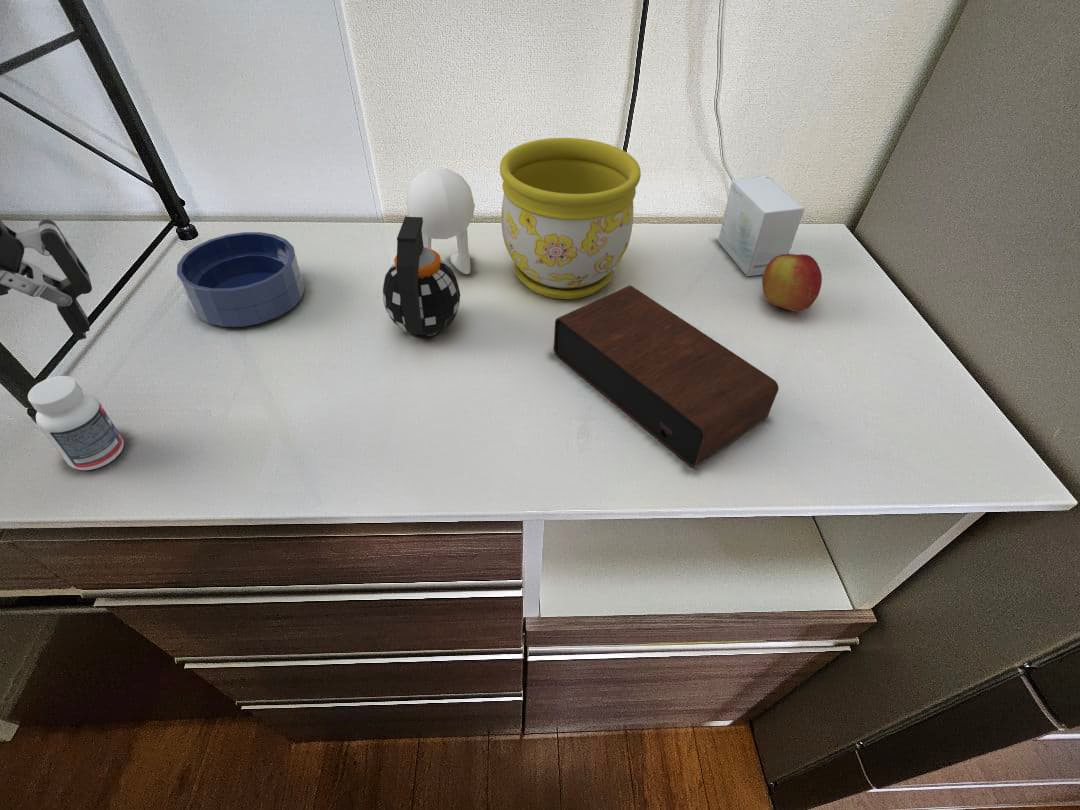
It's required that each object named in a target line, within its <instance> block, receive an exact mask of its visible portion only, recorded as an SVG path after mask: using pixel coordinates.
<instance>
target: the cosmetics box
mask: <svg viewBox="0 0 1080 810" xmlns="http://www.w3.org/2000/svg"><path fill="white" fill-rule="evenodd" d="M804 212H805V207H804V206H803V205H802V204H801V203H800V202H798V201H797V200H796V198H794V197H793V196H792V195H791V194H790V193H789V192H788V191H786V189H784V188H783V186H781V185H780V184H779V183H778V182H777V181H775V179H773V178H772V176H771V175H769V174H768V175H759V176H752V177H742V178H734V179H732V180H731V183H730V188H729V191H728V197H727V201H726V205H725V209H724V213H723V217H722V221H721V226H720V230H719V234H718V238H717V242H718V243H719V245H720V246H721V247H722V248H723V249H724V251H725V252H726V253H727V254H728V255H729V257H730V258H731V259H732V261H734V262H735V264H736V265H737V266H738V267H739V269H740V270H741V271H742V272H743V273H744V275H745V276H746V277H754V276H761V275H762V276H763V274H764V271H765V269H766V267H767V265H768V263H769V262H770V261H771V260H772V259H773V258H774V257H776V256H779V255H782V254H791V253H790V252H791V249H792V246H793V243H794V240H795V237H796V235H797V231H798V229H799V226H800V223H801V220H802V218H803V216H804Z"/></svg>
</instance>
